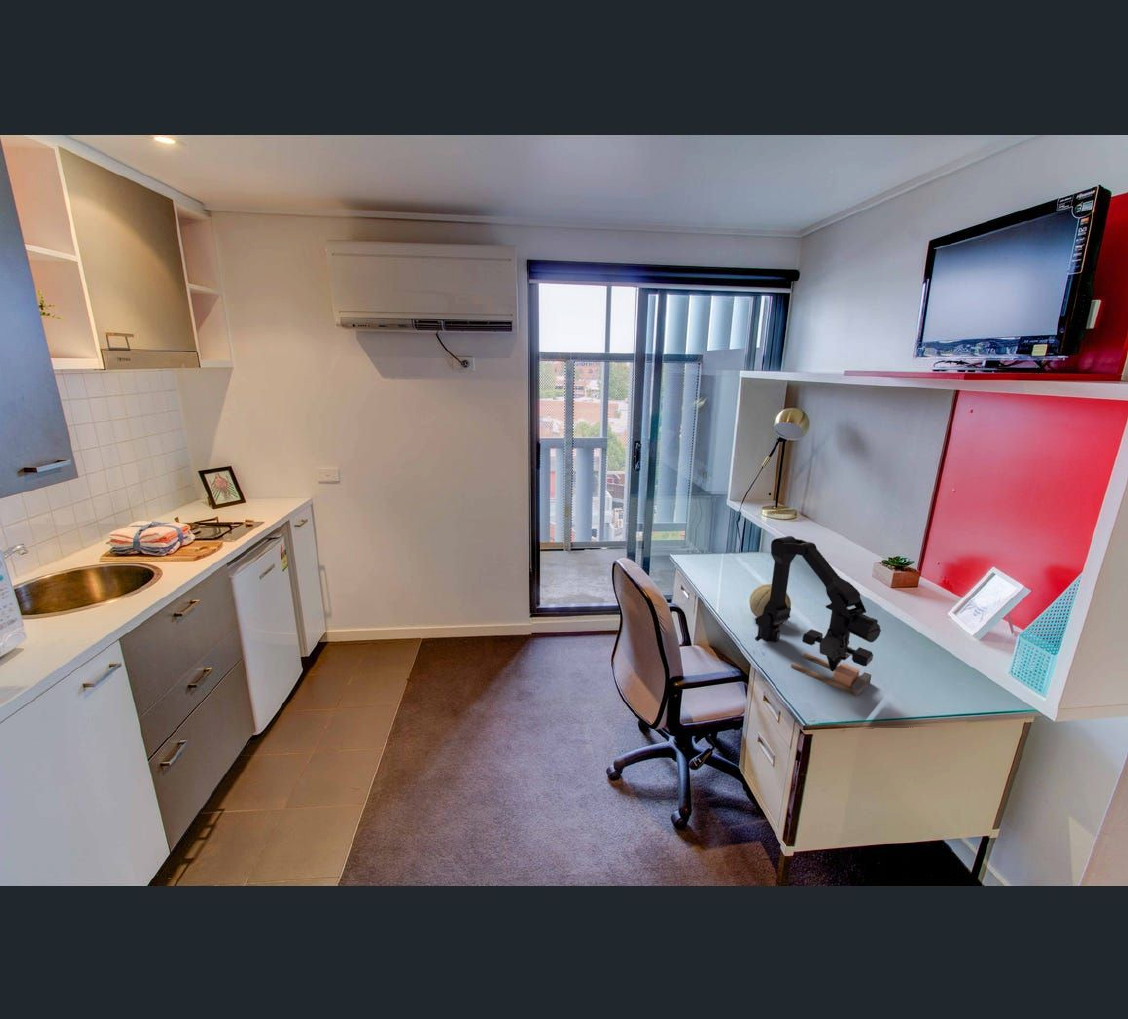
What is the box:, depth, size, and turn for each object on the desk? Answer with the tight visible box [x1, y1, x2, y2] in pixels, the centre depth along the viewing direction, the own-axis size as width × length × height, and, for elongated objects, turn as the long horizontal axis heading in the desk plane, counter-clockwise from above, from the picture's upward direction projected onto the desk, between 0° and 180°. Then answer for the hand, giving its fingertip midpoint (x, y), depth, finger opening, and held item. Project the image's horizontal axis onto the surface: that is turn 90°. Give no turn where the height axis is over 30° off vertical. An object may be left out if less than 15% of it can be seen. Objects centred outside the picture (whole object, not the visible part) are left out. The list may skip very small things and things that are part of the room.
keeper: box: [832, 662, 860, 688], centre depth 152 cm, size 5×6×4 cm
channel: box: [790, 652, 872, 697], centre depth 156 cm, size 20×10×4 cm, turn 41°
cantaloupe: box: [749, 583, 792, 618], centre depth 190 cm, size 15×15×15 cm
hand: (832, 670), depth 155 cm, fingers closed
